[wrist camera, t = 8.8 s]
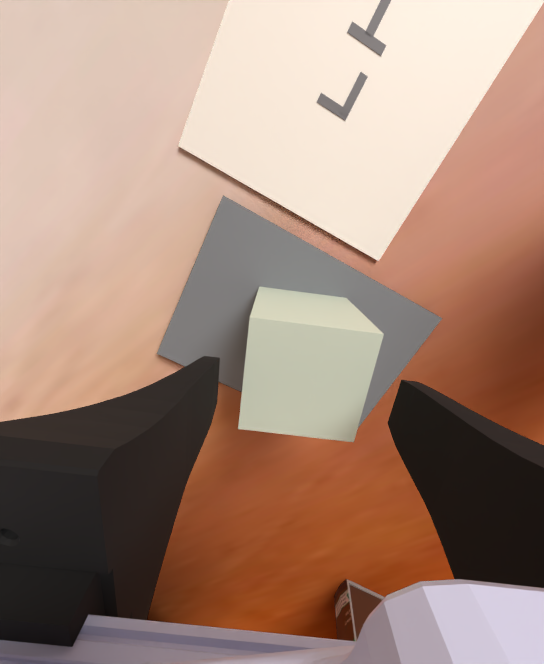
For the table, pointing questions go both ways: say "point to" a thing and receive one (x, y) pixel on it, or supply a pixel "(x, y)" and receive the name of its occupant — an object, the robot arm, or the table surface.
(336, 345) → the sage block
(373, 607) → the food container
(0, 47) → the table surface
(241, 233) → the slate mat
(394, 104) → the card
